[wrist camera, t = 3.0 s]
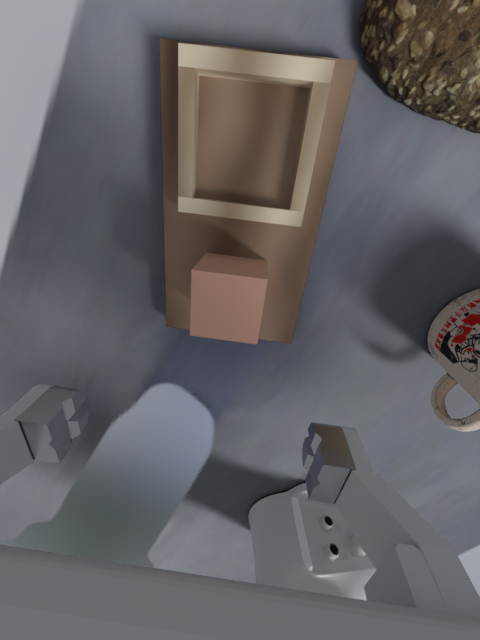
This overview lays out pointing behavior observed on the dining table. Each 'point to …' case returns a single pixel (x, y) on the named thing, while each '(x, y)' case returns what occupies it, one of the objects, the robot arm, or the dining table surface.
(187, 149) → the assembly board
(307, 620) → the robot arm
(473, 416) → the teacup with lid
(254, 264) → the terracotta cube
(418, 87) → the bread roll
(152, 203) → the dining table surface
